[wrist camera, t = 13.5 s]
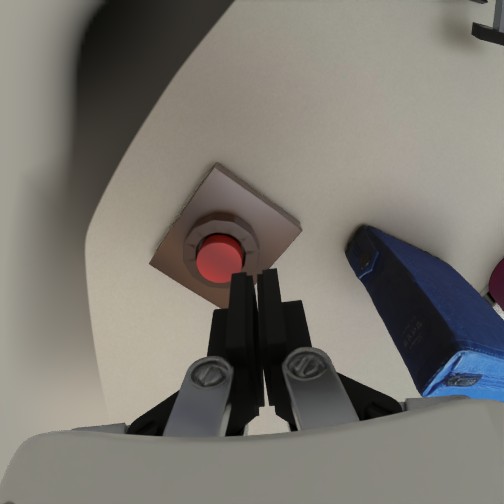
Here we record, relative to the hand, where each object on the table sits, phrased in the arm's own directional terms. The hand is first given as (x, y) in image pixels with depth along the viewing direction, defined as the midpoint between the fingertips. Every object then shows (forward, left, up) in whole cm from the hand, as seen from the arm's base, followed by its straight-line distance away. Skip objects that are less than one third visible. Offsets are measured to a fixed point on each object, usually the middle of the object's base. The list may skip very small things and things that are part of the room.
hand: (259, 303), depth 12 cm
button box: (-4, -6, -20) cm, 21 cm away
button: (-4, -6, -17) cm, 18 cm away
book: (+15, -11, -20) cm, 27 cm away
